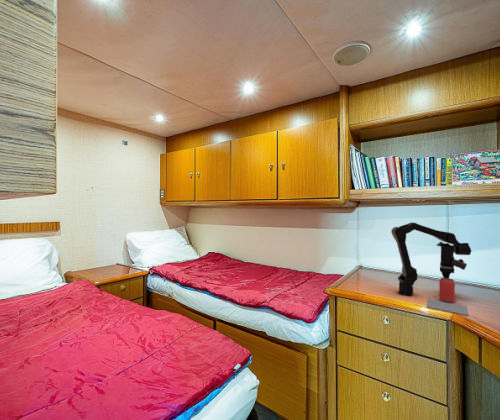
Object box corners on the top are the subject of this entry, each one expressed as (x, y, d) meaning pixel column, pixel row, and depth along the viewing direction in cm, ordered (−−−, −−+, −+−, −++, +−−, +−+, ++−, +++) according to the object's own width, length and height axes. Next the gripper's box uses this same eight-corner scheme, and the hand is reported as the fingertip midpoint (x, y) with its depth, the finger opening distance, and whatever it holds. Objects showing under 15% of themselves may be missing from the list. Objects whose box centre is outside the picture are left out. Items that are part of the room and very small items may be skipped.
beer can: (454, 301, 136) (455, 279, 137) (454, 304, 131) (454, 280, 132) (439, 298, 140) (439, 276, 141) (438, 301, 135) (439, 278, 136)
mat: (426, 307, 128) (426, 306, 128) (428, 299, 139) (428, 298, 139) (468, 316, 118) (468, 315, 118) (466, 306, 129) (466, 305, 129)
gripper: (466, 258, 131) (466, 288, 131) (464, 253, 146) (464, 280, 146) (440, 256, 138) (439, 284, 138) (440, 251, 152) (440, 277, 153)
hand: (446, 281), depth 143 cm, fingers closed
